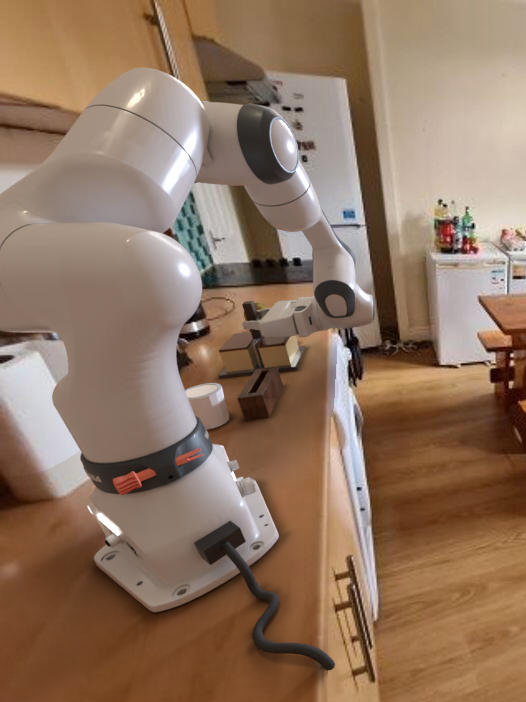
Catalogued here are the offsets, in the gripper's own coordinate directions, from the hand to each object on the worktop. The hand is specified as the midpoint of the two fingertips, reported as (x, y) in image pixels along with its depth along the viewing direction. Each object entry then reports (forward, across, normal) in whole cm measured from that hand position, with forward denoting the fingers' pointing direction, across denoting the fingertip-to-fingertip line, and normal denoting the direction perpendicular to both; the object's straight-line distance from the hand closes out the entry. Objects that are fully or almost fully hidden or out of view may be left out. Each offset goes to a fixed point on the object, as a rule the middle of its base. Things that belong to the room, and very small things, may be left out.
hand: (248, 319), depth 102 cm
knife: (-1, 0, +11) cm, 11 cm away
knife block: (-6, +24, +12) cm, 27 cm away
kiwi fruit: (+6, -29, +12) cm, 32 cm away
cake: (-1, 0, +12) cm, 12 cm away
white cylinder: (+2, +30, +12) cm, 32 cm away
